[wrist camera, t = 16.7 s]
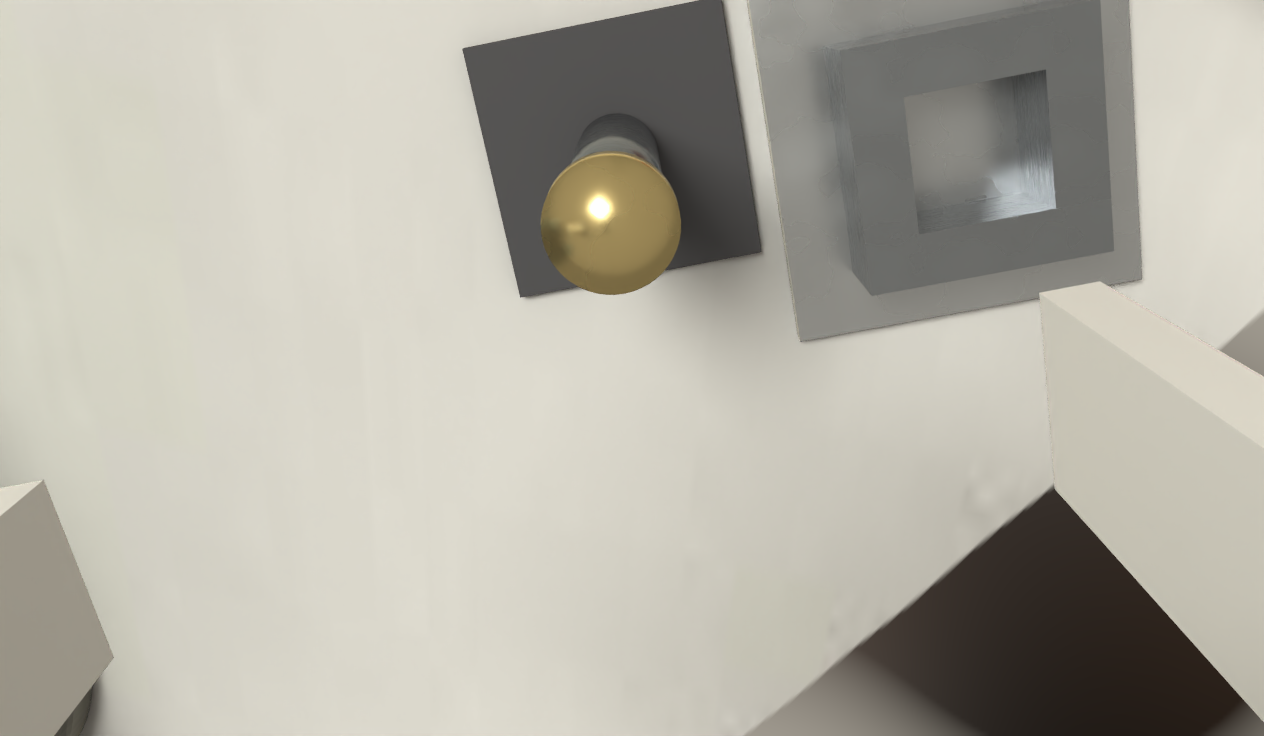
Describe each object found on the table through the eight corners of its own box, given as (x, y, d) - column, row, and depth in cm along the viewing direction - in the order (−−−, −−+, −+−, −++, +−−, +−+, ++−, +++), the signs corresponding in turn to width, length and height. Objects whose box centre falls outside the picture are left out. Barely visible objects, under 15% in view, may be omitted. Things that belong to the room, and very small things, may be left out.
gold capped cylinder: (579, 210, 44) (556, 306, 31) (560, 115, 43) (526, 170, 29) (673, 192, 44) (692, 280, 30) (656, 96, 43) (667, 143, 29)
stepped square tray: (797, 335, 47) (814, 370, 42) (745, -9, 42) (758, -10, 38) (1133, 274, 46) (1184, 302, 42) (1115, -85, 41) (1171, -94, 37)
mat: (521, 293, 46) (520, 297, 45) (464, 47, 43) (462, 48, 42) (759, 248, 45) (761, 252, 45) (719, -4, 42) (720, -4, 42)
